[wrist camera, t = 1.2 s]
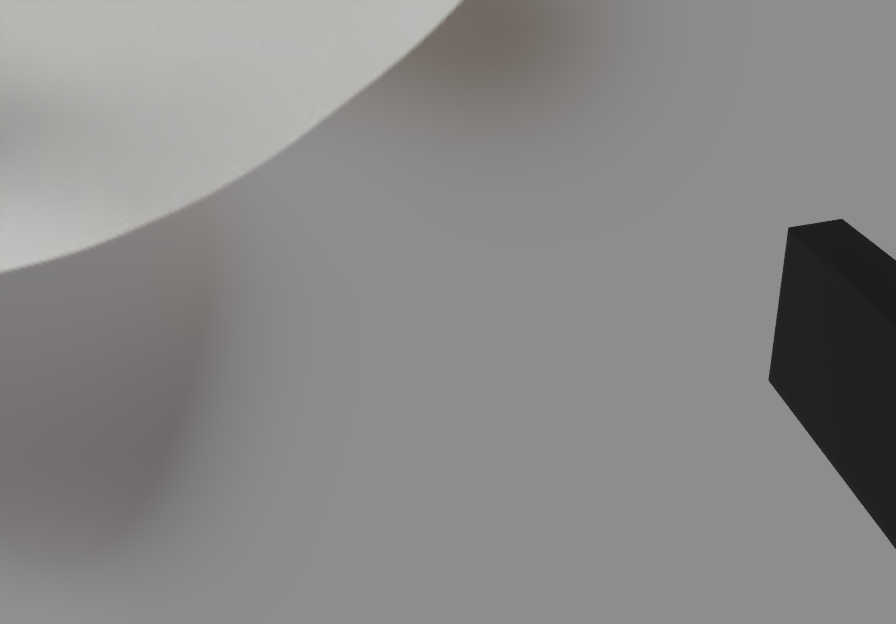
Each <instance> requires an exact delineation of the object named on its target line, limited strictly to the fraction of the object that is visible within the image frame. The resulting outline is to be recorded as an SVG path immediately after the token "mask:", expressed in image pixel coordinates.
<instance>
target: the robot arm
mask: <svg viewBox="0 0 896 624" xmlns="http://www.w3.org/2000/svg"><path fill="white" fill-rule="evenodd" d="M769 382H770V383H771V384H772V386H773V387H774V388H775V390H776V391H777V392H778V393H779V395H780V396H781V397H782V399H783V400H784V401H785V403H786V404H787V405H788V407H789V408H790V409H791V411H792V412H793V413H794V415H795V416H796V417H797V419H798V420H799V421H800V422H801V424H802V425H803V427H804V428H805V429H806V431H807V432H808V433H809V435H810V436H811V437H812V439H813V440H814V441H815V443H816V444H817V445H818V446H819V448H820V449H821V451H822V452H823V453H824V454H825V456H826V457H827V458H828V460H829V461H830V462H831V464H832V465H833V466H834V468H835V469H836V470H837V472H838V473H839V474H840V476H841V477H842V478H843V480H844V481H845V482H846V484H847V485H848V486H849V488H850V489H851V490H852V491H853V493H854V494H855V496H856V497H857V498H858V500H859V501H860V502H861V504H862V505H863V506H864V507H865V509H866V510H867V511H868V513H869V514H870V515H871V517H872V518H873V519H874V521H875V522H876V523H877V525H878V526H879V527H880V529H881V530H882V531H883V533H884V534H885V535H886V537H887V538H888V539H889V541H890V542H891V543H892V545H893V546H894V547H895V549H896V260H894V259H893V258H892V257H891V256H889V255H888V254H887V253H885V252H884V251H883V250H881V249H880V248H879V247H878V246H876V245H875V244H874V243H872V242H871V241H869V239H867V238H866V237H865V236H863V235H862V234H861V233H860V232H858V231H857V230H856V229H854V228H853V227H852V226H850V225H849V224H848V223H847V222H845V221H844V220H843V219H838V220H832V221H826V222H820V223H814V224H808V225H802V226H795V227H789V228H788V235H787V244H786V251H785V258H784V266H783V274H782V281H781V290H780V296H779V304H778V312H777V319H776V327H775V335H774V343H773V351H772V358H771V366H770V374H769Z"/></svg>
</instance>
